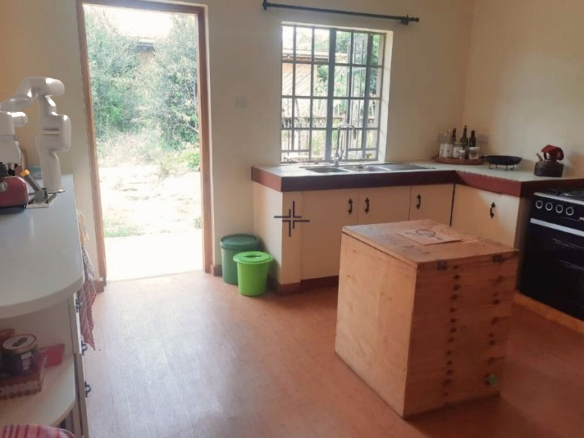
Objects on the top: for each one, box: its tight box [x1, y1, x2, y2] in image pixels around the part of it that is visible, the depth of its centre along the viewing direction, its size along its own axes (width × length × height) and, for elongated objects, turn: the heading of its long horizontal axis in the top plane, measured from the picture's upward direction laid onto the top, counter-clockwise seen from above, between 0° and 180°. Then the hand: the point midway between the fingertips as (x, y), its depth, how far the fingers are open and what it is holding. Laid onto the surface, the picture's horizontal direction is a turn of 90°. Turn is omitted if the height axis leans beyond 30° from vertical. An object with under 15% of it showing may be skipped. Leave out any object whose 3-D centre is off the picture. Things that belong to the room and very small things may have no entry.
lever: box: [19, 169, 43, 191], centre depth 217 cm, size 6×2×13 cm
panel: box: [25, 187, 59, 209], centre depth 219 cm, size 24×10×7 cm, turn 18°
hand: (12, 177), depth 214 cm, fingers closed
